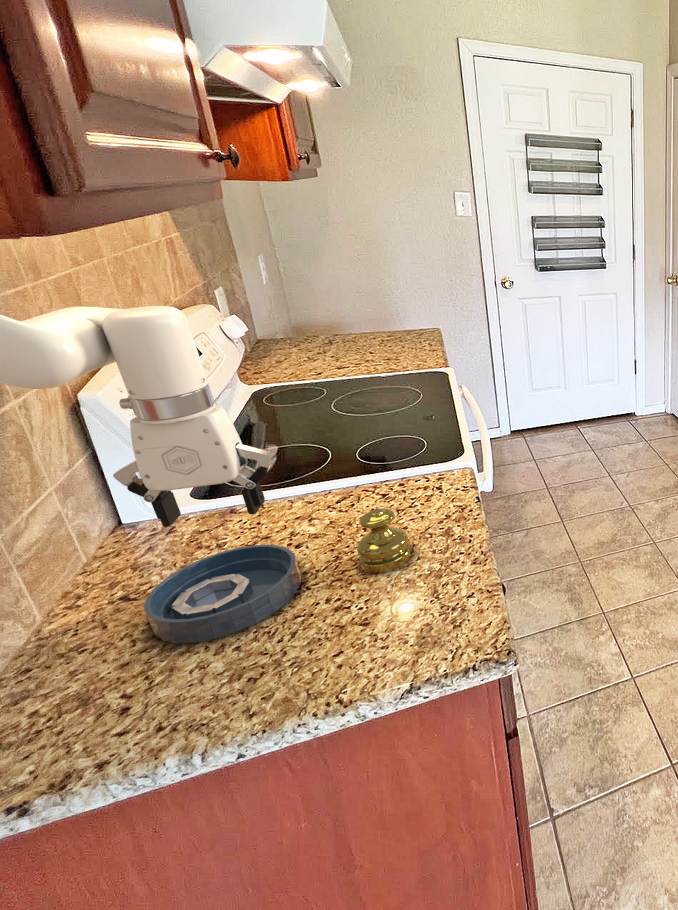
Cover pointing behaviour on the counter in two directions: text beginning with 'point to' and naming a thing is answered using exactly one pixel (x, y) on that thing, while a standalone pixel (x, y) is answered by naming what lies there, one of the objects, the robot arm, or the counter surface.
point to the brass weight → (382, 543)
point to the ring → (187, 599)
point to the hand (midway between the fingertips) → (215, 515)
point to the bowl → (225, 593)
